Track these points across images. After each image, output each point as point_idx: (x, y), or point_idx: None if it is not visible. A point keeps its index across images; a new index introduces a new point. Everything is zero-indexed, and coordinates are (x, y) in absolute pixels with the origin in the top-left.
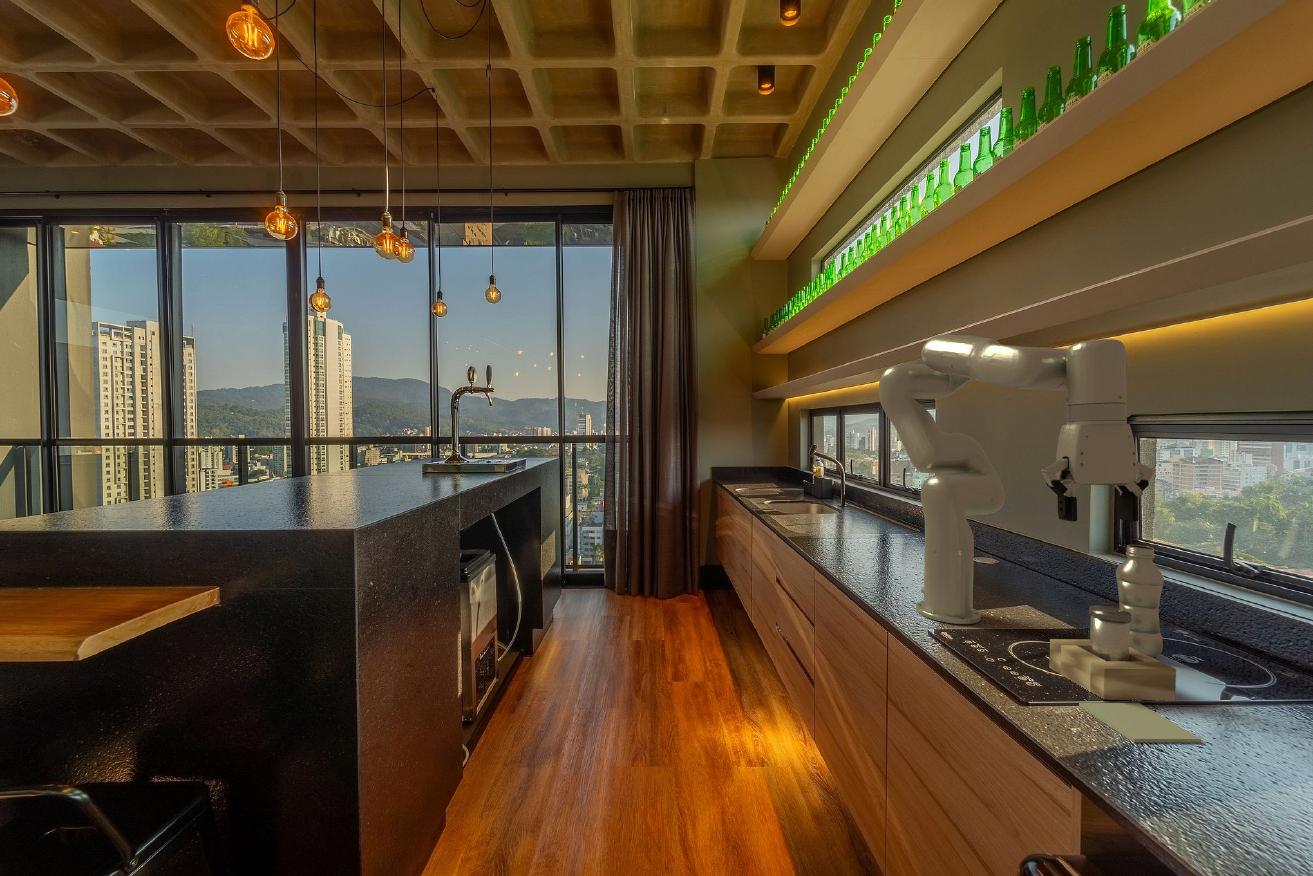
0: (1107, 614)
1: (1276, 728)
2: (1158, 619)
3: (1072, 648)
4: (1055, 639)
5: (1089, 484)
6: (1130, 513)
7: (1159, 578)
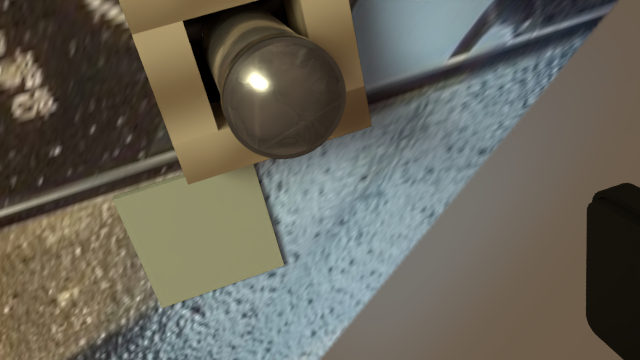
0: (253, 150)
1: (453, 160)
2: None
3: (159, 54)
4: None
5: None
6: (629, 344)
7: None
